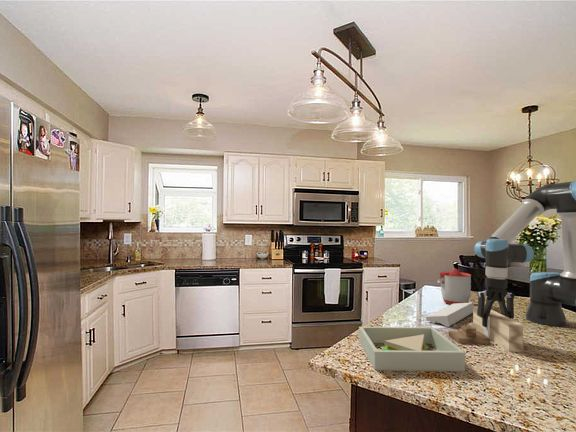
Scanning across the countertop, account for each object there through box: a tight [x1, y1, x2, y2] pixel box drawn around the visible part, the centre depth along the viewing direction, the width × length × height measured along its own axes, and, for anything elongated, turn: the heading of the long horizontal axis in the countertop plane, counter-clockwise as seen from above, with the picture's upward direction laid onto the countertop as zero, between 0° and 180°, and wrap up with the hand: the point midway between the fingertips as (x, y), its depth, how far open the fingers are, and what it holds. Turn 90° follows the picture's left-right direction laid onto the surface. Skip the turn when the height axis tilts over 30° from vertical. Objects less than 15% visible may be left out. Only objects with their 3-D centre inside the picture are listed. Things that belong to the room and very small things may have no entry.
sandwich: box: [380, 334, 429, 351], centre depth 113 cm, size 15×20×5 cm
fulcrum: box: [448, 325, 491, 345], centre depth 127 cm, size 12×8×5 cm, turn 89°
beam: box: [472, 305, 524, 353], centre depth 128 cm, size 5×24×10 cm, turn 178°
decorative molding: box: [425, 301, 475, 328], centre depth 156 cm, size 34×5×10 cm
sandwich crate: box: [358, 326, 466, 372], centre depth 112 cm, size 28×23×6 cm
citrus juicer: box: [437, 268, 472, 305], centre depth 181 cm, size 16×17×20 cm
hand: (495, 335), depth 127 cm, fingers open, 6 cm apart
